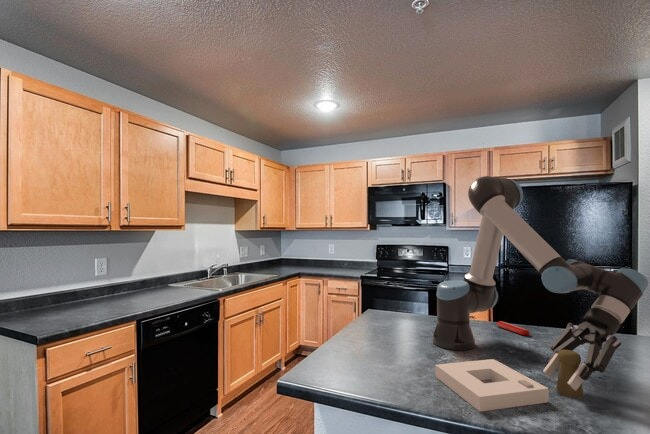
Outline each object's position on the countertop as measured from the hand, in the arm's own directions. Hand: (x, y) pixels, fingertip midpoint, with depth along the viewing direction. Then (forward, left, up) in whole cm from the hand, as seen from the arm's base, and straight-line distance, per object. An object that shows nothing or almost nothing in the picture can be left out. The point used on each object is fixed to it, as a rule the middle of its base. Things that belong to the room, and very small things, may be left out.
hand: (558, 380), depth 92 cm
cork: (+2, +3, -4) cm, 5 cm away
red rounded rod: (-29, +51, -4) cm, 59 cm away
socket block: (-14, -11, -3) cm, 18 cm away
